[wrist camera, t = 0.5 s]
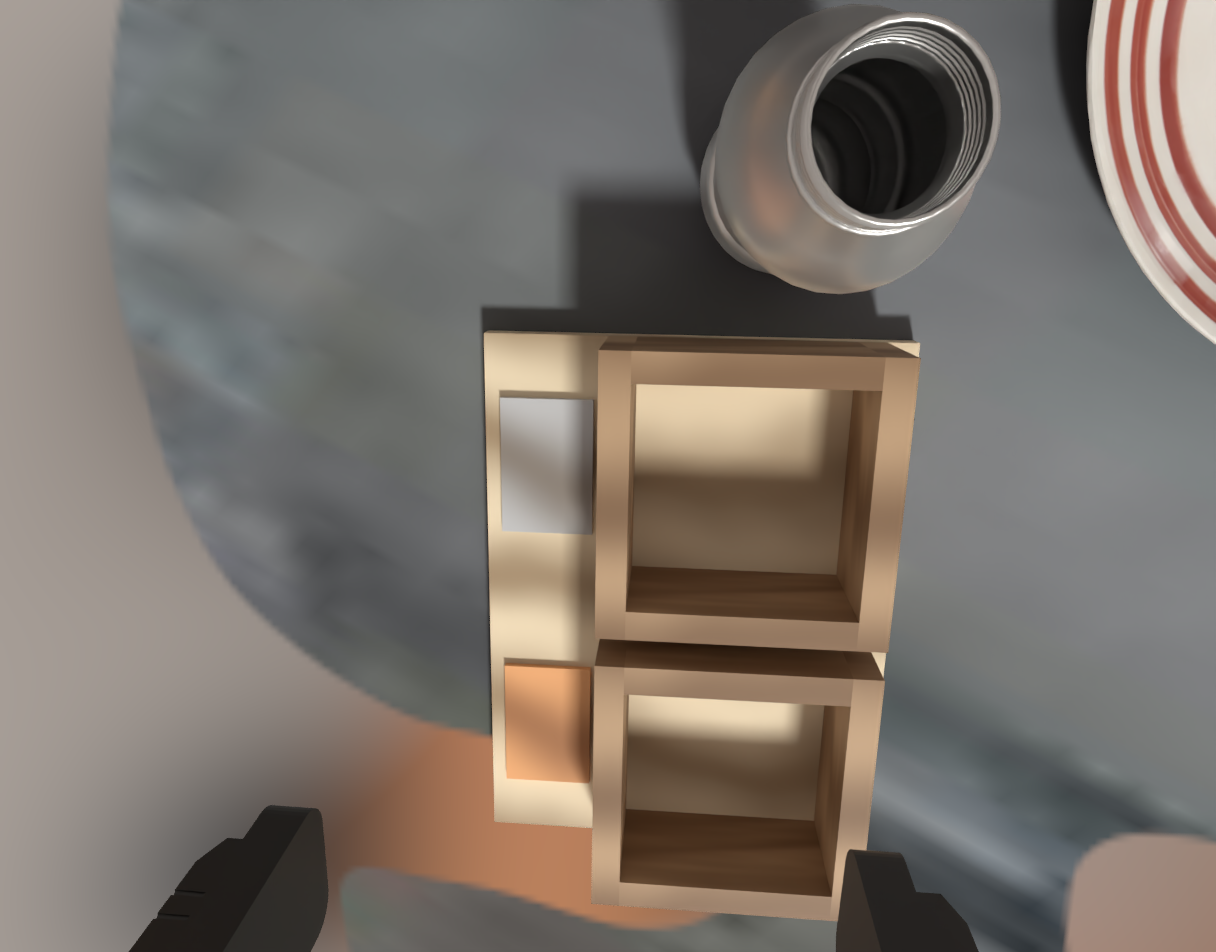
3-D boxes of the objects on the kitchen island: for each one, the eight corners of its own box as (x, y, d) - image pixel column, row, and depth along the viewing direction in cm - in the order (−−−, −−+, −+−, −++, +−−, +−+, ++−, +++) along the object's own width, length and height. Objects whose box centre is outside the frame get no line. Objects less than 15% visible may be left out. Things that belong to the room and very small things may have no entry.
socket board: (488, 330, 37) (454, 346, 32) (913, 340, 36) (958, 359, 30) (498, 808, 44) (471, 895, 38) (860, 831, 42) (889, 924, 37)
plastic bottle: (863, 94, 34) (1109, -102, 15) (855, 271, 36) (1065, 306, 16) (697, 101, 34) (724, -79, 15) (698, 275, 36) (721, 314, 17)
